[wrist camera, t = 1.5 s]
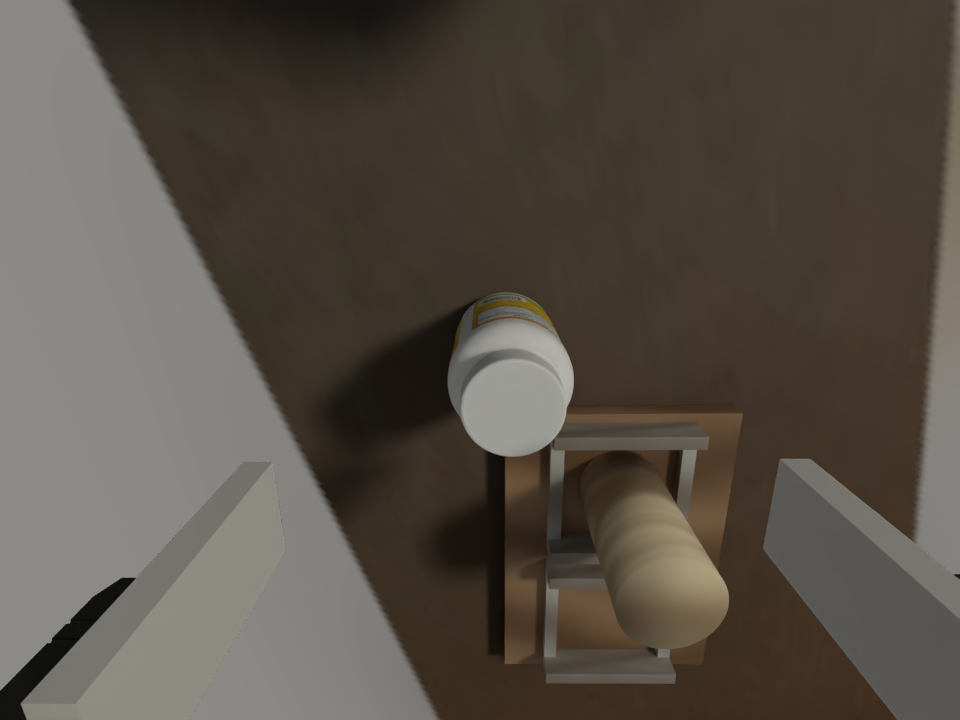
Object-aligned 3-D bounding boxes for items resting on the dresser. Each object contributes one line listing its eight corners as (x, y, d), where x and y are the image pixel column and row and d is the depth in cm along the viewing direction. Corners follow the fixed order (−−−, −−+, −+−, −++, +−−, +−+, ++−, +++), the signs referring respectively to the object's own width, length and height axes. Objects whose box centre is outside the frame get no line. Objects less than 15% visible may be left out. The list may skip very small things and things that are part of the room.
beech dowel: (579, 450, 29) (619, 559, 20) (661, 449, 28) (736, 559, 20) (576, 519, 30) (611, 649, 21) (654, 519, 30) (720, 649, 21)
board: (504, 406, 29) (506, 429, 26) (732, 404, 29) (759, 427, 26) (504, 648, 35) (505, 688, 32) (695, 648, 34) (714, 689, 32)
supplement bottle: (506, 402, 29) (514, 500, 20) (435, 341, 28) (410, 413, 19) (574, 337, 28) (617, 408, 19) (503, 269, 27) (512, 309, 17)
